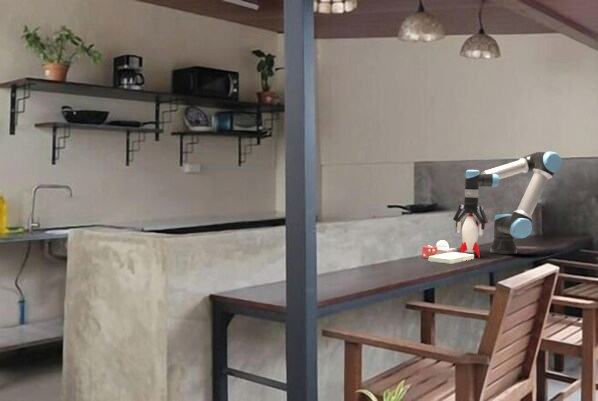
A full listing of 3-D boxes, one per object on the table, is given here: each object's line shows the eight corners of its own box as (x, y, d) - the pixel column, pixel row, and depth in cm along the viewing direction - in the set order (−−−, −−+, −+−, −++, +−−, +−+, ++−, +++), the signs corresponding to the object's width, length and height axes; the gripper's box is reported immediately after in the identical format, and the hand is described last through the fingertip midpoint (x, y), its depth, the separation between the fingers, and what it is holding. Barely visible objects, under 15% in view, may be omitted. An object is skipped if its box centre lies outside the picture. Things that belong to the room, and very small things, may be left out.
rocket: (479, 258, 358) (481, 213, 356) (460, 257, 360) (461, 213, 358) (478, 255, 369) (479, 212, 367) (459, 254, 371) (460, 211, 369)
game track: (452, 256, 363) (452, 252, 363) (474, 259, 354) (474, 254, 354) (428, 261, 343) (428, 256, 343) (450, 264, 334) (450, 259, 334)
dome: (439, 252, 372) (440, 239, 371) (450, 253, 367) (451, 240, 367) (433, 253, 366) (433, 240, 366) (444, 254, 362) (445, 241, 361)
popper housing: (438, 253, 375) (438, 246, 375) (456, 255, 367) (456, 248, 367) (427, 255, 366) (427, 248, 366) (446, 257, 358) (446, 250, 358)
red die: (427, 256, 361) (428, 244, 360) (438, 257, 356) (438, 246, 356) (421, 257, 356) (421, 245, 355) (432, 258, 351) (432, 247, 351)
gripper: (448, 195, 368) (446, 232, 369) (489, 198, 351) (487, 236, 352) (454, 195, 373) (453, 231, 375) (495, 198, 357) (493, 235, 358)
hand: (469, 234), depth 363 cm, fingers open, 13 cm apart
